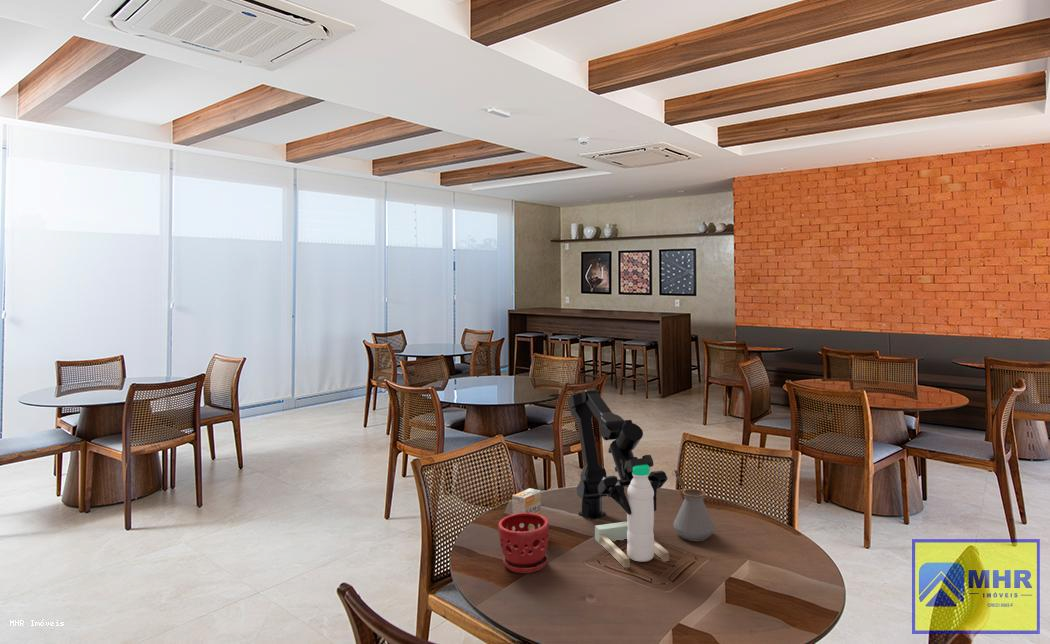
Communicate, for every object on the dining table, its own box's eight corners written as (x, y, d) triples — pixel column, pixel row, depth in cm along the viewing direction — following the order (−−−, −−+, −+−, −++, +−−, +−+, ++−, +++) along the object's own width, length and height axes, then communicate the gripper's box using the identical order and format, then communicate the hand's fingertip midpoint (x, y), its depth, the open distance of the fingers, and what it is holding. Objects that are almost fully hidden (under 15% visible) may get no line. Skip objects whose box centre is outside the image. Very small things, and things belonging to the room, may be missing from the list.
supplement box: (525, 543, 170) (524, 498, 169) (512, 539, 173) (511, 494, 172) (542, 533, 177) (541, 490, 176) (529, 529, 180) (528, 487, 179)
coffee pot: (721, 543, 169) (721, 490, 168) (681, 545, 168) (682, 492, 167) (692, 514, 190) (692, 468, 189) (657, 516, 189) (657, 469, 188)
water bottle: (653, 563, 155) (654, 469, 154) (626, 561, 157) (626, 468, 155) (653, 551, 162) (654, 461, 161) (627, 549, 164) (627, 460, 162)
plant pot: (520, 550, 166) (520, 508, 165) (559, 563, 157) (558, 519, 157) (488, 567, 156) (488, 522, 155) (527, 583, 147) (527, 535, 147)
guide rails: (599, 543, 170) (599, 534, 169) (640, 537, 173) (640, 529, 173) (624, 568, 154) (624, 559, 154) (669, 561, 158) (669, 552, 158)
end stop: (595, 539, 172) (594, 525, 172) (635, 533, 176) (635, 520, 176) (599, 543, 170) (599, 529, 169) (640, 537, 173) (640, 524, 173)
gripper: (601, 447, 159) (619, 502, 149) (664, 441, 164) (685, 494, 154) (590, 467, 167) (606, 521, 157) (650, 461, 172) (669, 513, 162)
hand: (642, 512), depth 157 cm, fingers closed on water bottle, 7 cm apart
